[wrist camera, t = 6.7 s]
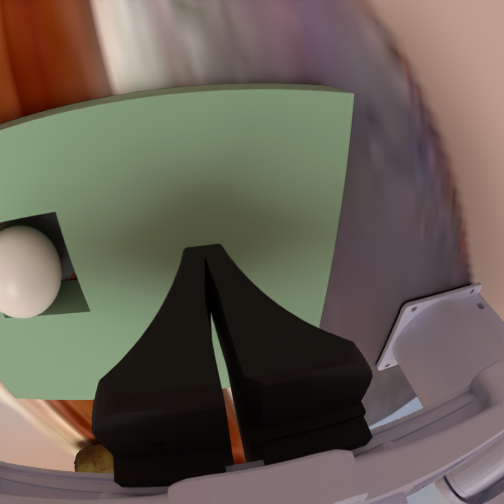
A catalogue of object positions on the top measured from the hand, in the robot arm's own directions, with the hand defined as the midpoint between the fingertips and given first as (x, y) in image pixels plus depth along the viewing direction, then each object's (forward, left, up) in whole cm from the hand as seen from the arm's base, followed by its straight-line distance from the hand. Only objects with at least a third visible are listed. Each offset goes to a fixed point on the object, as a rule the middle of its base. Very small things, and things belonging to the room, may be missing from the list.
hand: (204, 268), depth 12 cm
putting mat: (+4, +2, -4) cm, 6 cm away
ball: (+8, 0, -1) cm, 8 cm away
